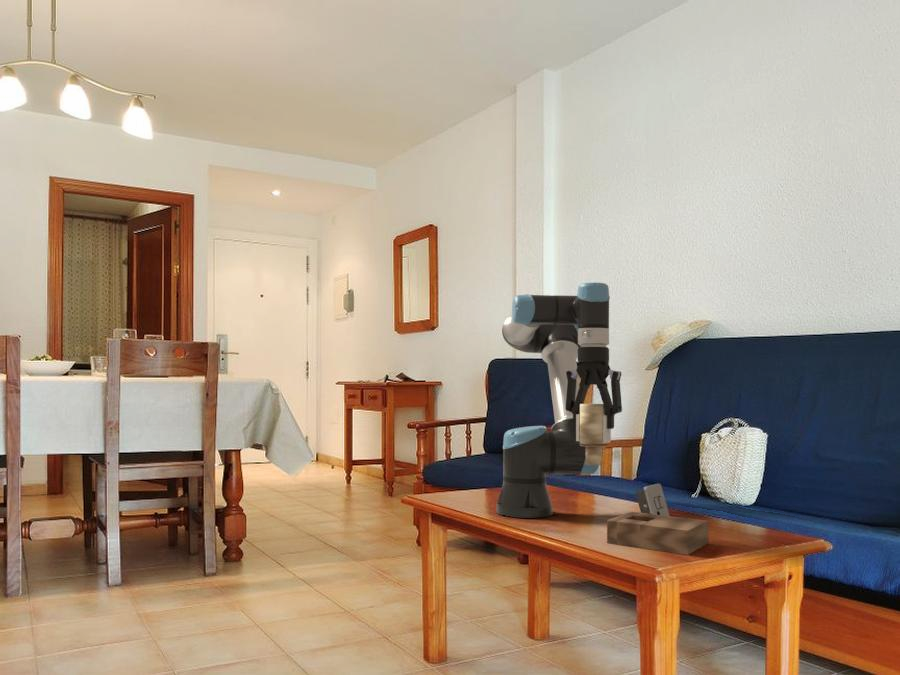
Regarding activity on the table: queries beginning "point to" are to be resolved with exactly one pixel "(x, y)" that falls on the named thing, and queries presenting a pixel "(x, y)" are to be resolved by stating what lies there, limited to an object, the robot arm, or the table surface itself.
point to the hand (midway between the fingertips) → (593, 441)
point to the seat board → (658, 532)
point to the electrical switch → (652, 500)
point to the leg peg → (592, 431)
